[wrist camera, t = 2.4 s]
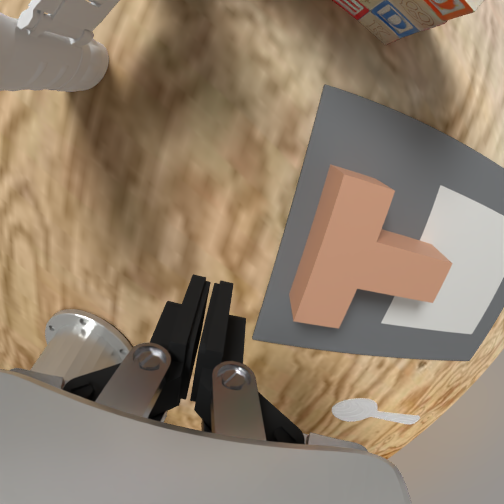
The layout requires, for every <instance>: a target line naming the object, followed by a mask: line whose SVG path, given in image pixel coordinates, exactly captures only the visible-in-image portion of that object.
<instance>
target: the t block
mask: <svg viewBox="0 0 504 504" xmlns="http://www.w3.org/2000/svg"><path fill="white" fill-rule="evenodd" d="M394 193H395V190H393V189H391V188H390V187H388V186H387V185H385V184H383V183H382V182H380V181H378V180H377V179H375V178H372V177H369V176H366V175H363V174H360V173H357V172H354V171H350V170H347V169H344V168H341V167H337V166H334V165H331V164H330V167H329V171H328V174H327V177H326V181H325V184H324V187H323V191H322V194H321V197H320V201H319V204H318V207H317V210H316V214H315V217H314V220H313V223H312V226H311V230H310V233H309V236H308V239H307V242H306V245H305V248H304V251H303V254H302V257H301V260H300V263H299V266H298V269H297V272H296V275H295V278H294V281H293V284H292V287H291V290H290V293H289V297H290V303H291V309H292V315H293V321H295V322H300V323H307V324H313V325H319V326H325V327H332V328H339V327H340V325H341V323H342V321H343V319H344V317H345V314H346V312H347V310H348V308H349V306H350V304H351V301H352V299H353V297H354V295H355V292H356V290H357V289H362V290H367V291H372V292H377V293H382V294H388V295H393V296H398V297H403V298H409V299H414V300H419V301H425V302H430V303H433V302H434V300H435V298H436V296H437V294H438V292H439V290H440V288H441V286H442V284H443V282H444V280H445V278H446V276H447V274H448V272H449V270H450V268H451V266H452V264H453V263H452V262H450V261H449V260H448V259H447V258H446V257H445V256H444V255H443V254H442V253H441V252H440V251H439V250H437V249H436V248H435V247H434V246H433V245H432V244H430V243H426V242H423V241H420V240H417V239H413V238H410V237H407V236H403V235H400V234H396V233H393V232H390V231H386V230H383V229H382V226H383V224H384V221H385V218H386V216H387V213H388V210H389V207H390V204H391V201H392V199H393V196H394Z"/></svg>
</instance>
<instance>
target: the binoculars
mask: <svg viewBox="0 0 504 504" xmlns="http://www.w3.org/2000/svg"><path fill="white" fill-rule="evenodd" d="M89 1H91V3H89V2H87V1H85V0H32V1H31V2H30V3H29V5H28V6H30V7H29V8H28V9H26V10H25V11H23V12H22V13H21V15H20V17H19V18H18V19H16V18H11V17H9V16H7V15H4V14H2V13H0V91H2V90H8V91H19V90H25V89H30V90H43V89H48V90H57V91H66V92H75V91H84V90H88V89H90V88H92V87H94V86H95V85H97V84H98V83H99V82H100V81H101V79H102V78H103V76H104V75H105V73H106V70H107V68H108V63H109V56H108V52H107V49H106V48H105V46H104V45H102V44H101V43H99V42H97V41H95V40H94V39H93V37H94V34H93V32H92V31H93V30H94V29H95V28H96V27H97V26H98V25H99V24H100V23H101V22H102V21H103V19H104V18H105V17H106V16H107V15H108V13H109V12H110V11H111V10H112V9H113V7H114V6H115V5H116V4H117V3H118V2H119V0H89ZM44 12H46V13H48V15H47V14H44Z"/></svg>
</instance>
